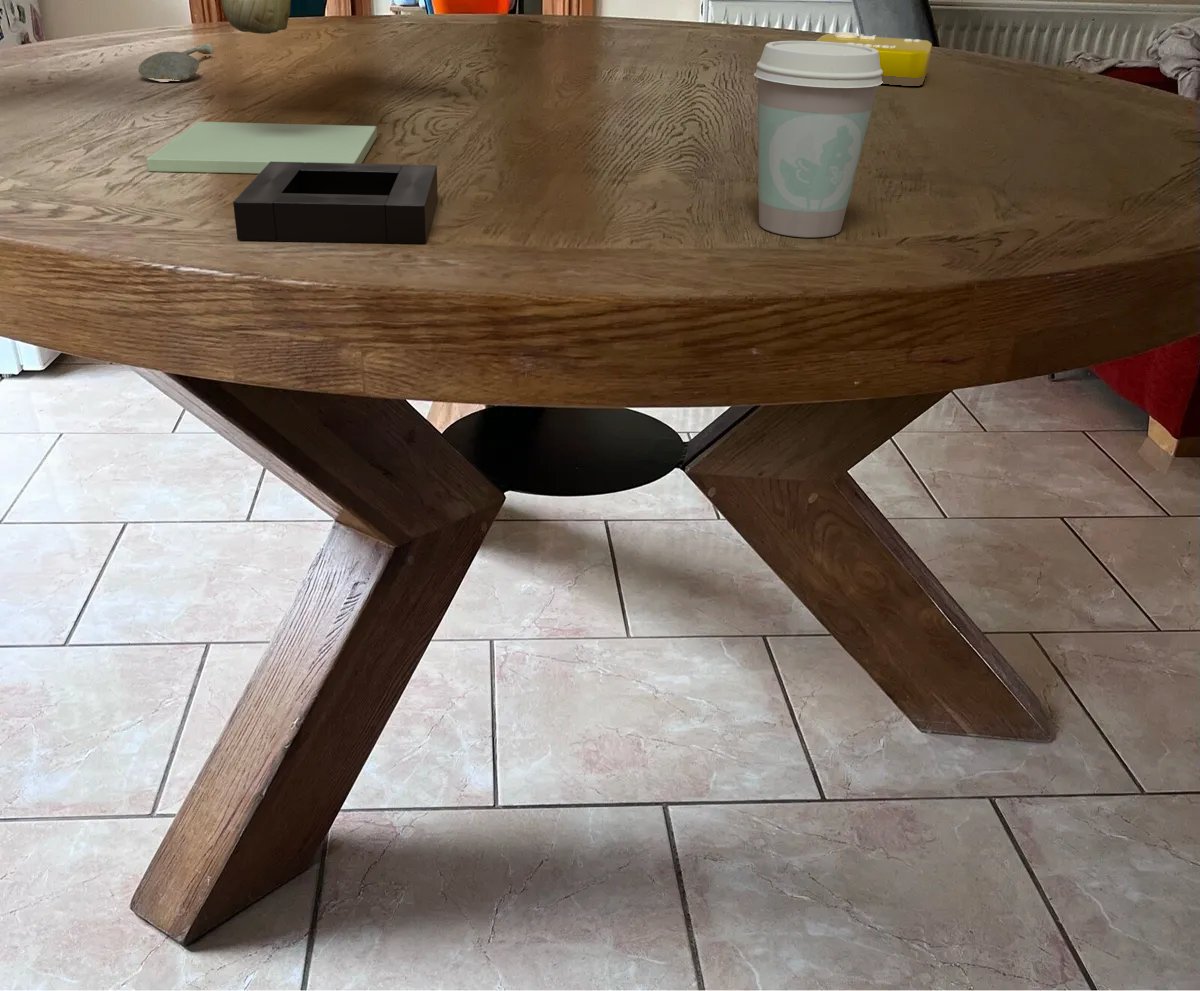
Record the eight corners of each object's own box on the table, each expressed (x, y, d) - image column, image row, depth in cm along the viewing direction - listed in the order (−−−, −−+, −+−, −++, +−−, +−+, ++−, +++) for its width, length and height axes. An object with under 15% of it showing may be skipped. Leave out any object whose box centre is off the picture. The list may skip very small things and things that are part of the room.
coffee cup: (730, 235, 77) (747, 49, 71) (749, 207, 84) (766, 36, 79) (856, 249, 75) (884, 59, 70) (864, 219, 83) (890, 44, 77)
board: (147, 171, 88) (145, 158, 87) (199, 132, 102) (197, 121, 101) (354, 176, 89) (353, 163, 88) (377, 137, 103) (376, 126, 102)
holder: (237, 240, 72) (232, 201, 71) (273, 195, 82) (269, 161, 81) (425, 244, 73) (424, 205, 72) (437, 199, 83) (436, 165, 82)
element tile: (805, 79, 147) (809, 40, 144) (819, 65, 159) (823, 29, 157) (922, 88, 143) (929, 48, 141) (927, 73, 156) (933, 36, 153)
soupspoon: (132, 88, 126) (192, 92, 126) (128, 56, 124) (189, 61, 125) (182, 54, 145) (234, 59, 145) (179, 27, 143) (232, 31, 144)
